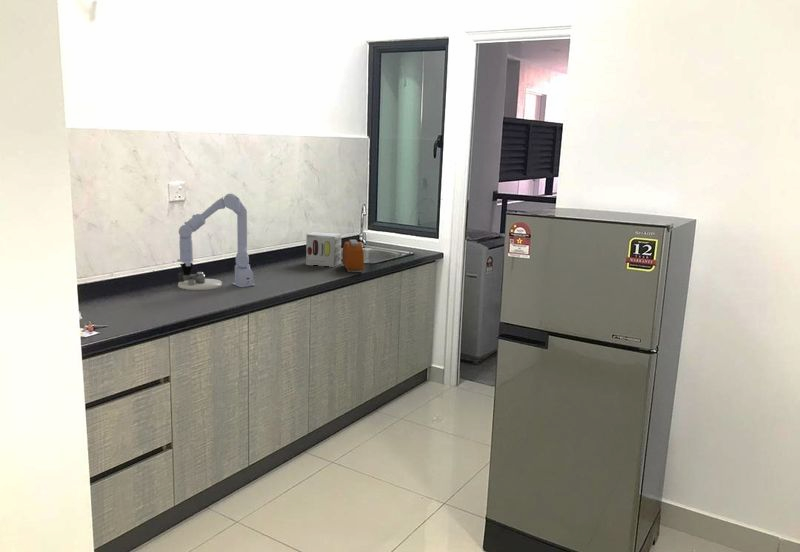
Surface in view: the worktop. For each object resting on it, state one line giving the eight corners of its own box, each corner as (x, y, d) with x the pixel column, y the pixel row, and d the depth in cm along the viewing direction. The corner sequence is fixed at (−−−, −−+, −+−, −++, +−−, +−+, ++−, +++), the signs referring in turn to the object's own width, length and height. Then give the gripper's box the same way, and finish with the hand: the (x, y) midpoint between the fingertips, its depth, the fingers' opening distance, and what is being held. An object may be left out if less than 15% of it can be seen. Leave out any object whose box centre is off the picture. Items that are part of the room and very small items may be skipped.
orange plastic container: (363, 273, 353) (364, 243, 350) (347, 273, 351) (348, 243, 348) (357, 265, 375) (358, 236, 372) (342, 265, 373) (342, 236, 370)
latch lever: (204, 281, 311) (204, 271, 310) (205, 282, 307) (205, 273, 306) (178, 281, 307) (178, 272, 306) (178, 283, 303) (178, 274, 302)
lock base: (229, 287, 308) (229, 279, 307) (188, 292, 295) (188, 283, 294) (211, 279, 323) (210, 272, 322) (171, 284, 310) (171, 276, 309)
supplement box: (305, 265, 370) (305, 234, 366) (313, 261, 382) (313, 231, 379) (334, 267, 366) (334, 236, 362) (341, 263, 379) (341, 233, 375)
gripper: (175, 248, 310) (176, 275, 313) (178, 253, 297) (179, 282, 300) (191, 247, 313) (192, 275, 316) (194, 252, 300) (195, 281, 303)
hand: (187, 278), depth 308 cm, fingers closed
